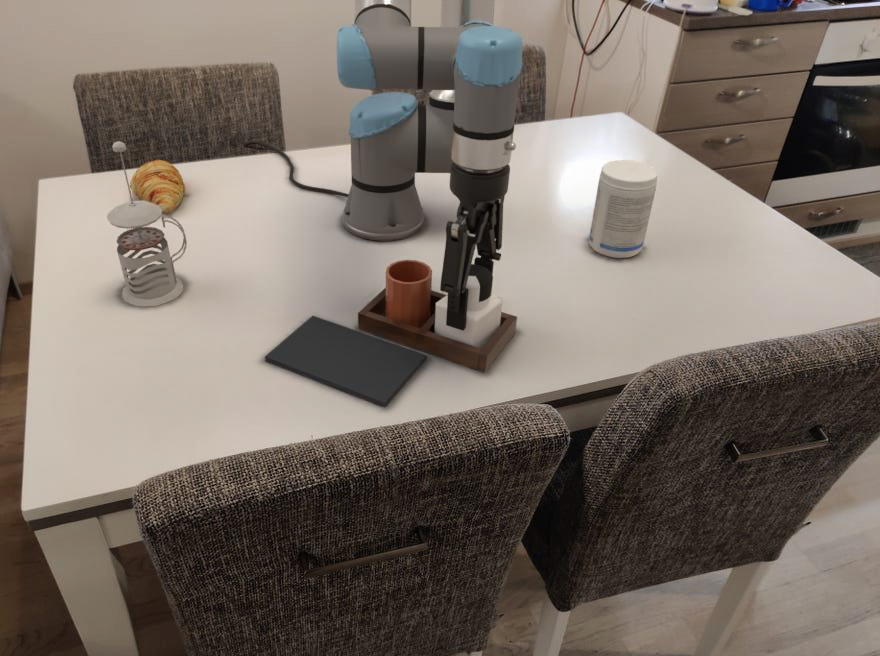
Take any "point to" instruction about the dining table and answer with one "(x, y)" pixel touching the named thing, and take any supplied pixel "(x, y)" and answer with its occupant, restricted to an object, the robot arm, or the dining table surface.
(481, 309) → the medicine bottle
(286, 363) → the mat
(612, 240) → the supplement tub
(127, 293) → the french press
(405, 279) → the terracotta cup
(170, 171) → the croissant
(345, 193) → the robot arm
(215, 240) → the dining table surface
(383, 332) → the cup holder
